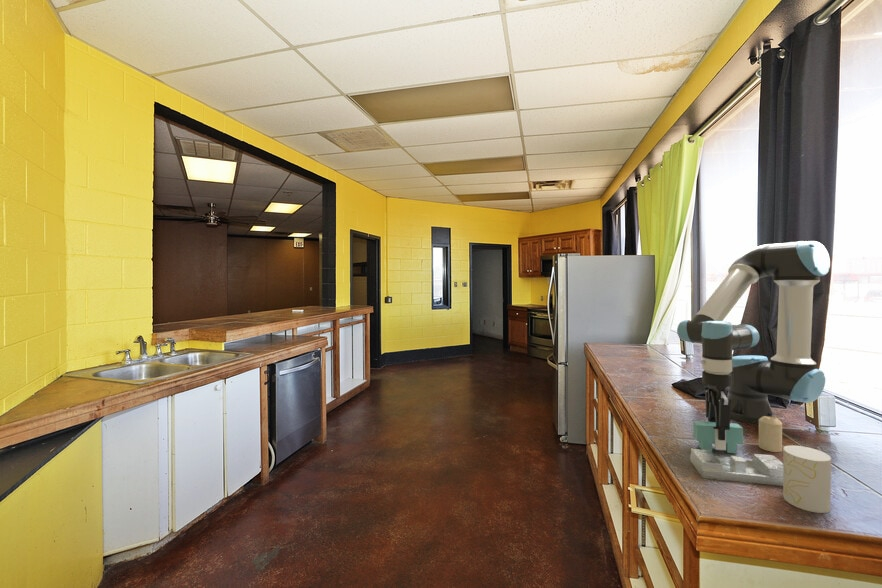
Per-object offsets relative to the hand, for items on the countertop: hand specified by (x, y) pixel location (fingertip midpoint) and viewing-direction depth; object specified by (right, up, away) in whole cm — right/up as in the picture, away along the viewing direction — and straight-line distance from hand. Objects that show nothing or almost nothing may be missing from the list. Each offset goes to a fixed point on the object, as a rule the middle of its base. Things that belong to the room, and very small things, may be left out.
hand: (717, 446), depth 118 cm
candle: (+17, -1, 0) cm, 17 cm away
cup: (+1, -3, -28) cm, 28 cm away
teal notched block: (0, -1, 0) cm, 1 cm away
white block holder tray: (-4, -2, -13) cm, 14 cm away
